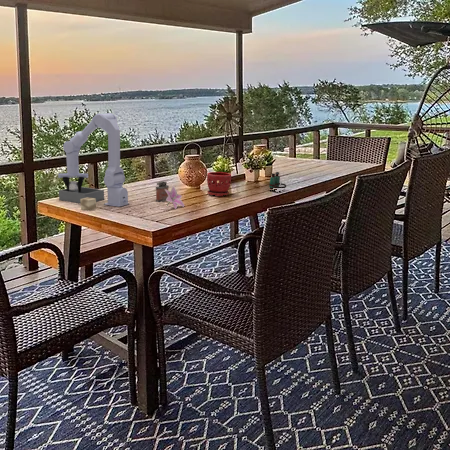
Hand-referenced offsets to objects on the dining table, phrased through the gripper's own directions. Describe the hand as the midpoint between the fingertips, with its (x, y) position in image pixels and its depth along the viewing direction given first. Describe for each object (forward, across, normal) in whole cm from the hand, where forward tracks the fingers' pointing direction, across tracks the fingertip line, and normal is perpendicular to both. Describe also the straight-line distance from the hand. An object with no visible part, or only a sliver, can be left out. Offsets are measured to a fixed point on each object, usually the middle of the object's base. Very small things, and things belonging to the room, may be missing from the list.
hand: (74, 191), depth 263 cm
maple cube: (+4, +10, -22) cm, 25 cm away
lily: (+4, +50, -20) cm, 54 cm away
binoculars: (+4, +110, +20) cm, 112 cm away
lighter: (+4, +45, -4) cm, 45 cm away
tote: (+4, +4, -1) cm, 6 cm away
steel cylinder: (+2, 0, 0) cm, 2 cm away
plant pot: (+4, +75, +10) cm, 76 cm away
